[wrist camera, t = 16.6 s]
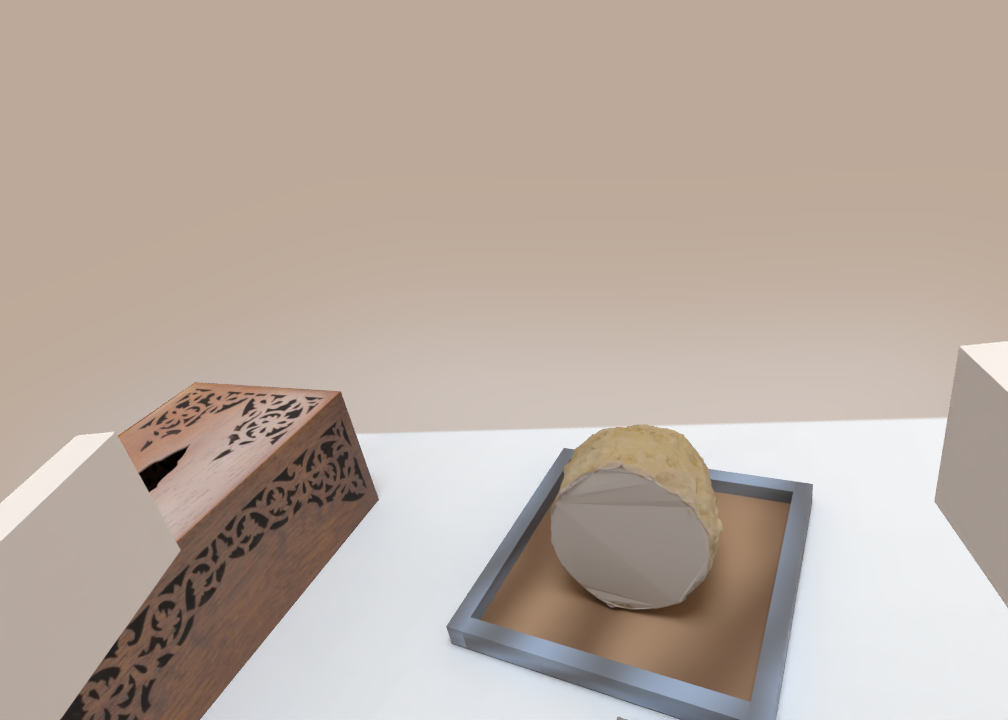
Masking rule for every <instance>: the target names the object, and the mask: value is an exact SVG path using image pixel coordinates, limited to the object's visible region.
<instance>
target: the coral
mask: <svg viewBox="0 0 1008 720" xmlns="http://www.w3.org/2000/svg"><path fill="white" fill-rule="evenodd" d="M563 472H564V479H563V481H562V483H561V486H560V490H559V493H558V495H557V497H556V500H555V502H554V504H553V506H552V508H551V509H550V510H551V538H550V539H551V542H552V545H553V546H554V549H555V551H556V554H557V556H558V558H559V560H560V562H561V564H562V565H563V567H564V568H565V569H566V571H567V572H568V574H569V575H570V577H572V578H573V579H574V580H576V581H577V582H578V583H580V584H581V585H582V586H583V587H584V588H585V589H586V590H587V591H588V592H590V593H592V594H593V595H594V596H595V597H597V598H598V599H600V600H601V601H603V602H604V603H606V604H607V605H608V606H609V607H611V608H613V607H620V608H627V609H652V608H655V609H658V608H662V607H666V606H670V605H674V604H679V603H681V602H683V601H684V600H686V596H687V595H688V594H689V593H691V592H693V591H694V590H695V589H696V588H697V587H698V586H699V585H700V584H701V583H702V582H703V581H704V580H705V579H706V576H707V574H708V573H709V571H710V570H711V568H712V565H713V560H714V557H715V555H716V552H717V549H718V546H719V538H720V534H721V533H722V532H723V525H722V522H721V520H720V519H719V518H718V509H717V499H716V497H715V494H714V491H713V489H712V483H711V480H710V479H711V478H710V476H709V469H708V468H707V466H706V464H705V463H704V461H703V458H701V457H700V455H699V454H698V452H697V451H696V450H695V449H694V448H693V446H692V445H691V444H690V442H689V441H688V440H687V439H686V438H685V437H684V435H683V434H680V433H678V432H676V431H674V430H670V429H665V428H658V427H654V426H649V425H634V426H628V427H627V428H623V427H616V428H608V429H602V430H600V431H599V432H597V433H596V434H594V435H593V434H592V436H591V437H590V438H588V439H587V440H586V441H585V442H584V443H583V444H582V445H580V446H579V447H577V448H576V449H575V450H574V454H573V456H572V458H571V460H570V462H569V463H567V464H566V465H565V466H564V468H563Z"/></svg>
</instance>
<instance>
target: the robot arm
mask: <svg viewBox="0 0 1008 720" xmlns="http://www.w3.org/2000/svg"><path fill="white" fill-rule="evenodd" d="M935 503H936V504H937V506H938V507H939V509H940V510H941V512H942V513H943V514H944V516H945V517H946V519H947V520H948V522H949V523H950V525H951V526H952V528H953V529H954V530H955V532H956V533H957V535H958V536H959V538H960V539H961V541H962V542H963V543H964V545H965V546H966V548H967V549H968V551H969V552H970V554H971V555H972V557H973V558H974V559H975V561H976V562H977V564H978V565H979V567H980V568H981V570H982V571H983V572H984V574H985V575H986V577H987V578H988V580H989V581H990V583H991V584H992V585H993V587H994V588H995V590H996V591H997V593H998V594H999V596H1000V597H1001V599H1002V600H1003V601H1004V603H1005V604H1006V606H1007V607H1008V341H1006V342H995V343H985V344H976V345H966V346H959V351H958V358H957V364H956V370H955V377H954V383H953V389H952V395H951V401H950V407H949V414H948V420H947V426H946V432H945V439H944V445H943V451H942V457H941V463H940V470H939V476H938V482H937V488H936V495H935ZM180 551H181V550H180V548H179V546H178V544H177V543H176V541H175V539H174V537H173V535H172V534H171V532H170V530H169V528H168V526H167V524H166V523H165V521H164V519H163V517H162V515H161V514H160V512H159V510H158V508H157V506H156V504H155V503H154V501H153V499H152V497H151V495H150V493H149V492H148V490H147V488H146V486H145V484H144V483H143V481H142V479H141V477H140V475H139V473H138V472H137V470H136V468H135V466H134V464H133V463H132V461H131V459H130V457H129V455H128V453H127V452H126V450H125V448H124V446H123V444H122V443H121V441H120V439H119V437H118V435H117V434H116V432H108V433H98V434H88V435H78V436H76V437H75V438H73V439H72V440H71V441H70V442H69V443H68V444H67V445H66V446H65V447H63V448H62V449H61V450H60V451H59V452H58V453H57V454H55V455H54V456H53V457H52V458H51V459H50V460H49V461H48V462H46V463H45V464H44V465H43V466H42V467H41V468H40V469H38V471H36V472H35V473H34V474H33V475H32V476H31V477H29V478H28V479H27V480H26V481H25V482H24V483H23V484H22V485H20V487H18V488H17V489H16V490H15V491H14V492H13V493H12V494H10V495H9V496H8V497H7V498H6V499H5V500H4V501H2V502H1V503H0V720H60V719H61V718H62V717H63V715H64V714H65V712H66V711H67V709H68V708H69V707H70V705H71V704H72V702H73V701H74V700H75V698H76V697H77V695H78V694H79V693H80V691H81V690H82V688H83V687H84V686H85V684H86V683H87V681H88V680H89V679H90V677H91V676H92V674H93V673H94V672H95V670H96V669H97V667H98V666H99V665H100V663H101V662H102V660H103V659H104V657H105V656H106V655H107V653H108V652H109V650H110V649H111V648H112V646H113V645H114V643H115V642H116V641H117V639H118V638H119V636H120V635H121V634H122V632H123V631H124V629H125V628H126V627H127V625H128V624H129V622H130V621H131V620H132V618H133V617H134V615H135V614H136V612H137V611H138V610H139V608H140V607H141V605H142V604H143V603H144V601H145V600H146V598H147V597H148V596H149V594H150V593H151V591H152V590H153V589H154V587H155V586H156V584H157V583H158V582H159V580H160V579H161V577H162V576H163V575H164V573H165V572H166V570H167V569H168V568H169V566H170V565H171V563H172V562H173V560H174V559H175V558H176V556H177V555H178V553H179V552H180Z"/></svg>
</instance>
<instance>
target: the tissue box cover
mask: <svg viewBox="0 0 1008 720" xmlns="http://www.w3.org/2000/svg"><path fill="white" fill-rule="evenodd" d="M118 437H119V439H120V441H121V443H122V444H123V446H124V448H125V450H126V452H127V453H128V455H129V457H130V459H131V461H132V463H133V464H134V466H135V468H136V470H137V472H138V473H139V475H140V477H141V479H142V481H143V483H144V484H145V486H146V488H147V490H148V492H149V493H150V495H151V497H152V499H153V501H154V503H155V504H156V506H157V508H158V510H159V512H160V514H161V515H162V517H163V519H164V521H165V523H166V524H167V526H168V528H169V530H170V532H171V534H172V535H173V537H174V539H175V541H176V543H177V544H178V546H179V548H180V550H181V551H180V552H179V553H178V555H177V556H176V558H175V559H174V560H173V562H172V563H171V565H170V566H169V568H168V569H167V570H166V572H165V573H164V575H163V576H162V577H161V579H160V580H159V582H158V583H157V584H156V586H155V587H154V589H153V590H152V591H151V593H150V594H149V596H148V597H147V598H146V600H145V601H144V603H143V604H142V605H141V607H140V608H139V610H138V611H137V612H136V614H135V615H134V617H133V618H132V620H131V621H130V622H129V624H128V625H127V627H126V628H125V629H124V631H123V632H122V634H121V635H120V636H119V638H118V639H117V641H116V642H115V643H114V645H113V646H112V648H111V649H110V650H109V652H108V653H107V655H106V656H105V657H104V659H103V660H102V662H101V663H100V665H99V666H98V667H97V669H96V670H95V672H94V673H93V674H92V676H91V677H90V679H89V680H88V681H87V683H86V684H85V686H84V687H83V688H82V690H81V691H80V693H79V694H78V695H77V697H76V698H75V700H74V701H73V702H72V704H71V705H70V707H69V708H68V709H67V711H66V712H65V714H64V715H63V717H62V718H61V719H60V720H200V719H201V718H202V716H203V715H204V714H205V713H206V711H207V710H208V709H209V708H210V706H211V705H212V704H213V703H214V702H215V700H216V699H217V698H218V697H219V695H220V694H221V693H222V692H223V690H224V689H225V688H226V687H227V686H228V684H229V683H230V682H231V681H232V679H233V678H234V677H235V676H236V675H237V673H238V672H239V671H240V670H241V668H242V667H243V666H244V665H245V663H246V662H247V661H248V660H249V659H250V657H251V656H252V655H253V654H254V652H255V651H256V650H257V649H258V647H259V646H260V645H261V644H262V643H263V641H264V640H265V639H266V638H267V636H268V635H269V634H270V633H271V631H272V630H273V629H274V628H275V627H276V625H277V624H278V623H279V622H280V620H281V619H282V618H283V617H284V615H285V614H286V613H287V612H288V611H289V609H290V608H291V607H292V606H293V604H294V603H295V602H296V601H297V600H298V598H299V597H300V596H301V595H302V593H303V592H304V591H305V590H306V588H307V587H308V586H309V585H310V584H311V582H312V581H313V580H314V579H315V577H316V576H317V575H318V574H319V572H320V571H321V570H322V569H323V568H324V566H325V565H326V564H327V563H328V561H329V560H330V559H331V558H332V556H333V555H334V554H335V553H336V552H337V550H338V549H339V548H340V547H341V545H342V544H343V543H344V542H345V540H346V539H347V538H348V537H349V536H350V534H351V533H352V532H353V531H354V529H355V528H356V527H357V526H358V524H359V523H360V522H361V521H362V520H363V518H364V517H365V516H366V515H367V513H368V512H369V511H370V510H371V509H372V507H373V506H374V505H375V504H376V502H377V501H378V500H379V499H378V496H377V493H376V490H375V487H374V485H373V482H372V479H371V476H370V473H369V470H368V468H367V465H366V462H365V459H364V456H363V453H362V451H361V448H360V445H359V442H358V439H357V436H356V434H355V431H354V428H353V425H352V423H351V419H350V417H349V414H348V411H347V408H346V405H345V402H344V400H343V397H342V394H341V392H338V391H324V390H308V389H292V388H277V387H261V386H244V385H229V384H214V383H197V382H195V383H194V384H192V385H191V386H189V387H188V388H187V389H185V390H184V391H182V392H181V393H179V394H178V395H176V396H175V397H173V398H172V399H170V400H169V401H168V402H166V403H165V404H163V405H162V406H160V407H159V408H157V409H156V410H155V411H153V412H152V413H150V414H149V415H147V416H146V417H145V418H143V419H142V420H140V421H139V422H137V423H136V424H134V425H133V426H132V427H130V428H129V429H127V430H126V431H124V432H123V433H121V434H120V435H119V436H118Z"/></svg>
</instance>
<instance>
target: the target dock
mask: <svg viewBox="0 0 1008 720" xmlns="http://www.w3.org/2000/svg"><path fill="white" fill-rule="evenodd" d="M573 454H574V449H567V448H564V449H563V450H562V452H561V453H560V455H559V456H558V458H557V459H556V461H555V462H554V464H553V465H552V467H551V468H550V470H549V472H548V473H547V475H546V476H545V478H544V479H543V481H542V482H541V484H540V485H539V487H538V488H537V490H536V491H535V493H534V494H533V496H532V497H531V499H530V500H529V502H528V503H527V505H526V506H525V508H524V509H523V511H522V513H521V514H520V516H519V517H518V519H517V520H516V522H515V523H514V525H513V526H512V528H511V529H510V531H509V532H508V534H507V535H506V537H505V538H504V540H503V541H502V543H501V544H500V546H499V547H498V549H497V550H496V552H495V553H494V555H493V557H492V558H491V560H490V561H489V563H488V564H487V566H486V567H485V569H484V570H483V572H482V573H481V575H480V576H479V578H478V579H477V581H476V582H475V584H474V585H473V587H472V588H471V590H470V591H469V593H468V594H467V596H466V598H465V599H464V601H463V602H462V604H461V605H460V607H459V608H458V610H457V611H456V613H455V614H454V616H453V617H452V619H451V620H450V622H449V623H448V625H447V626H446V627H447V630H448V633H449V636H450V639H451V642H452V644H455V645H458V646H461V647H464V648H467V649H470V650H473V651H476V652H480V653H483V654H486V655H489V656H492V657H495V658H498V659H501V660H504V661H507V662H510V663H513V664H516V665H519V666H522V667H525V668H528V669H531V670H534V671H537V672H540V673H543V674H546V675H549V676H552V677H555V678H558V679H561V680H564V681H567V682H570V683H573V684H576V685H579V686H582V687H585V688H588V689H591V690H594V691H598V692H601V693H604V694H607V695H610V696H613V697H616V698H619V699H622V700H625V701H628V702H631V703H634V704H637V705H640V706H643V707H646V708H649V709H652V710H655V711H658V712H661V713H664V714H667V715H670V716H673V717H676V718H679V719H682V720H776V715H777V709H778V703H779V697H780V691H781V685H782V679H783V673H784V667H785V661H786V655H787V649H788V643H789V637H790V631H791V625H792V619H793V613H794V607H795V601H796V595H797V589H798V583H799V577H800V571H801V565H802V559H803V553H804V547H805V541H806V535H807V529H808V523H809V517H810V511H811V505H812V490H813V484H808V483H801V482H794V481H787V480H780V479H774V478H767V477H760V476H753V475H746V474H739V473H732V472H725V471H718V470H712V469H709V476H710V478H711V479H710V480H711V483H712V489H713V491H714V494H715V497H716V499H717V509H718V518H719V519H720V520H721V522H722V525H723V532H722V533H721V534H720V538H719V546H718V549H717V552H716V555H715V557H714V560H713V565H712V568H711V570H710V571H709V573H708V574H707V576H706V579H705V580H704V581H703V582H702V583H701V584H700V585H699V586H698V587H697V588H696V589H695V590H694V591H693V592H691V593H689V594H688V595H687V596H686V600H684V601H683V602H681V603H679V604H674V605H670V606H666V607H662V608H658V609H655V608H652V609H627V608H620V607H613V608H611V607H609V606H608V605H607V604H606V603H604V602H603V601H601V600H600V599H598V598H597V597H595V596H594V595H593V594H592V593H590V592H588V591H587V590H586V589H585V588H584V587H583V586H582V585H581V584H580V583H578V582H577V581H576V580H574V579H573V578H572V577H570V575H569V574H568V572H567V571H566V569H565V568H564V567H563V565H562V564H561V562H560V560H559V558H558V556H557V554H556V551H555V549H554V546H553V545H552V542H551V539H550V538H551V510H550V509H551V508H552V506H553V504H554V502H555V500H556V497H557V495H558V493H559V490H560V486H561V483H562V481H563V479H564V472H563V468H564V466H565V465H566V464H567V463H569V462H570V460H571V458H572V456H573Z"/></svg>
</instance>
